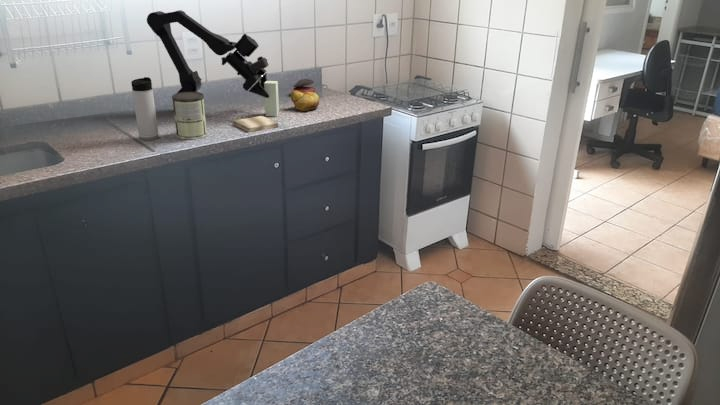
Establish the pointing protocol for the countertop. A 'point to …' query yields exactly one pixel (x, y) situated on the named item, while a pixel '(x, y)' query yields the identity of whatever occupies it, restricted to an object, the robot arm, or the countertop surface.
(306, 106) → the bread roll
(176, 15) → the robot arm
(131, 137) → the countertop surface
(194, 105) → the coffee can
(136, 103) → the travel mug
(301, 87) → the dark grey rounded piece
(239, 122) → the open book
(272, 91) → the sage block
